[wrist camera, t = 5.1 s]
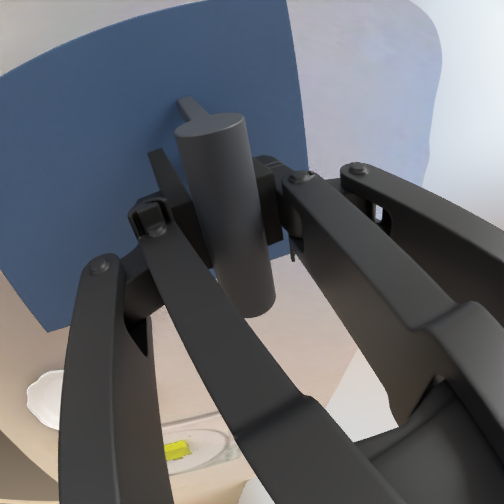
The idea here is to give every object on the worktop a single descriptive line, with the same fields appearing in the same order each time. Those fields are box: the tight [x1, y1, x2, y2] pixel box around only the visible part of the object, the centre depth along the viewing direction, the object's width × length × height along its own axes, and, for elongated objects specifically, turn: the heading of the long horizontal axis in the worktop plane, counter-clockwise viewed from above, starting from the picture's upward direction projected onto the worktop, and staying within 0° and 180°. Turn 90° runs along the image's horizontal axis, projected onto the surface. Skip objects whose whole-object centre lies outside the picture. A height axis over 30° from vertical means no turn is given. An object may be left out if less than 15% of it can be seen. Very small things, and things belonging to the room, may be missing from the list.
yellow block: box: [164, 436, 198, 461], centre depth 59 cm, size 10×9×3 cm
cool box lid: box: [0, 0, 309, 332], centre depth 13 cm, size 20×16×9 cm
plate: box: [26, 370, 64, 430], centre depth 42 cm, size 21×21×2 cm
